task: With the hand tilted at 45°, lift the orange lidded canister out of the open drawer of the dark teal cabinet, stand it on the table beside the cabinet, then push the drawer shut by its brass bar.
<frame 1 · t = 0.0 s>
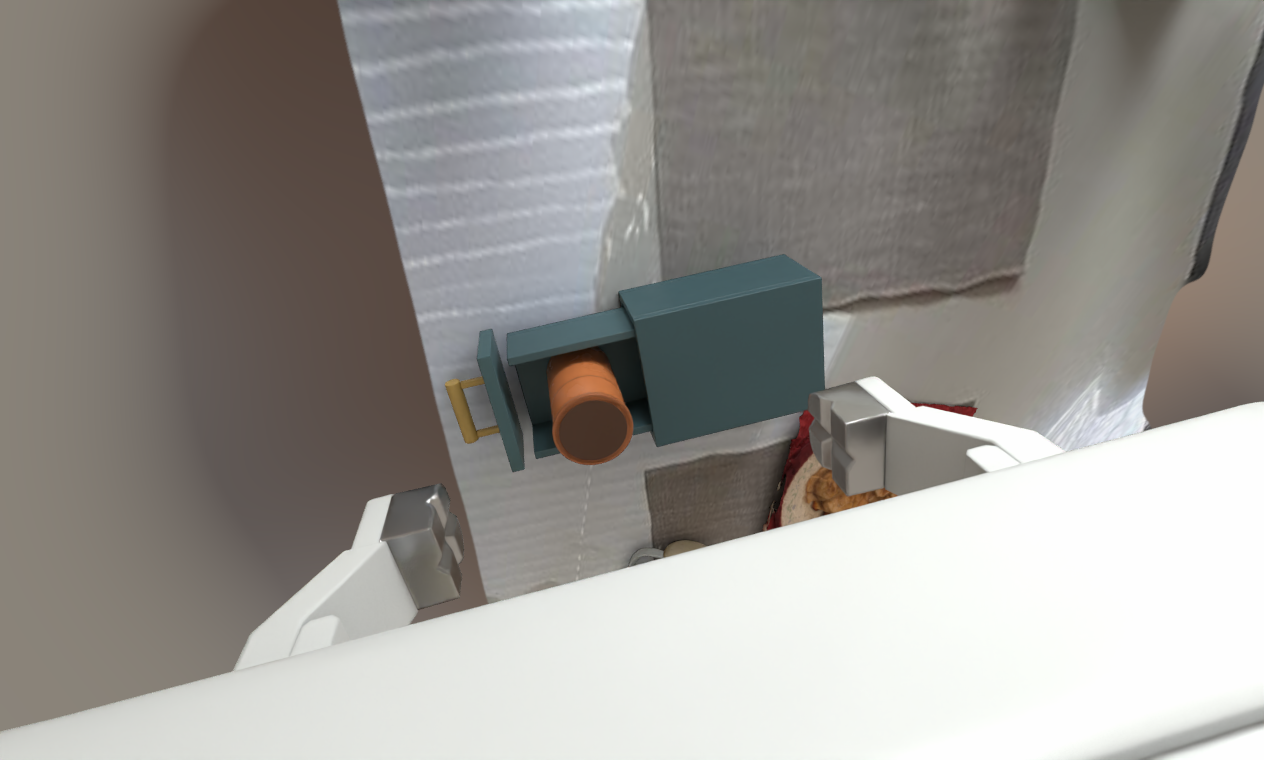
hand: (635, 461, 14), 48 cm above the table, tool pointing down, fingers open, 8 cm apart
cabinet: (709, 333, 66), on the table
plate with food: (858, 487, 79), on the table
ceramic mug: (667, 561, 79), on the table
drawer: (558, 386, 61), point 4 cm above the table, slide at 13.0 cm, touching orange lidded canister
orange lidded canister: (578, 372, 63), point 2 cm above the table, touching drawer
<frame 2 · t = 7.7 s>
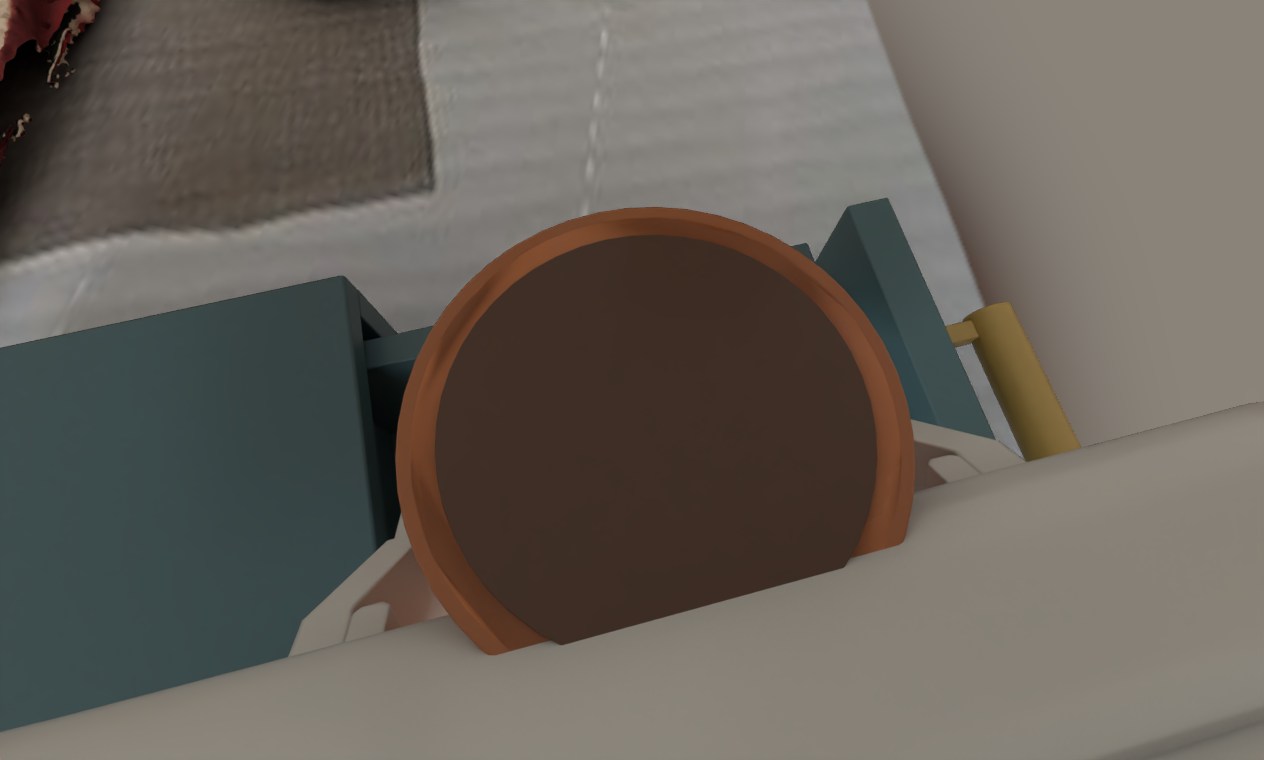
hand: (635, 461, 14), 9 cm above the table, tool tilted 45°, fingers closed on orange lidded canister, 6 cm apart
cabinet: (207, 637, 20), on the table
drawer: (715, 493, 18), point 4 cm above the table, slide at 13.0 cm, touching orange lidded canister
orange lidded canister: (638, 521, 20), point 2 cm above the table, touching drawer, gripper
when the fingers open (6 cm above the table, at t = 17.1 s): orange lidded canister stays where it is, on the table.
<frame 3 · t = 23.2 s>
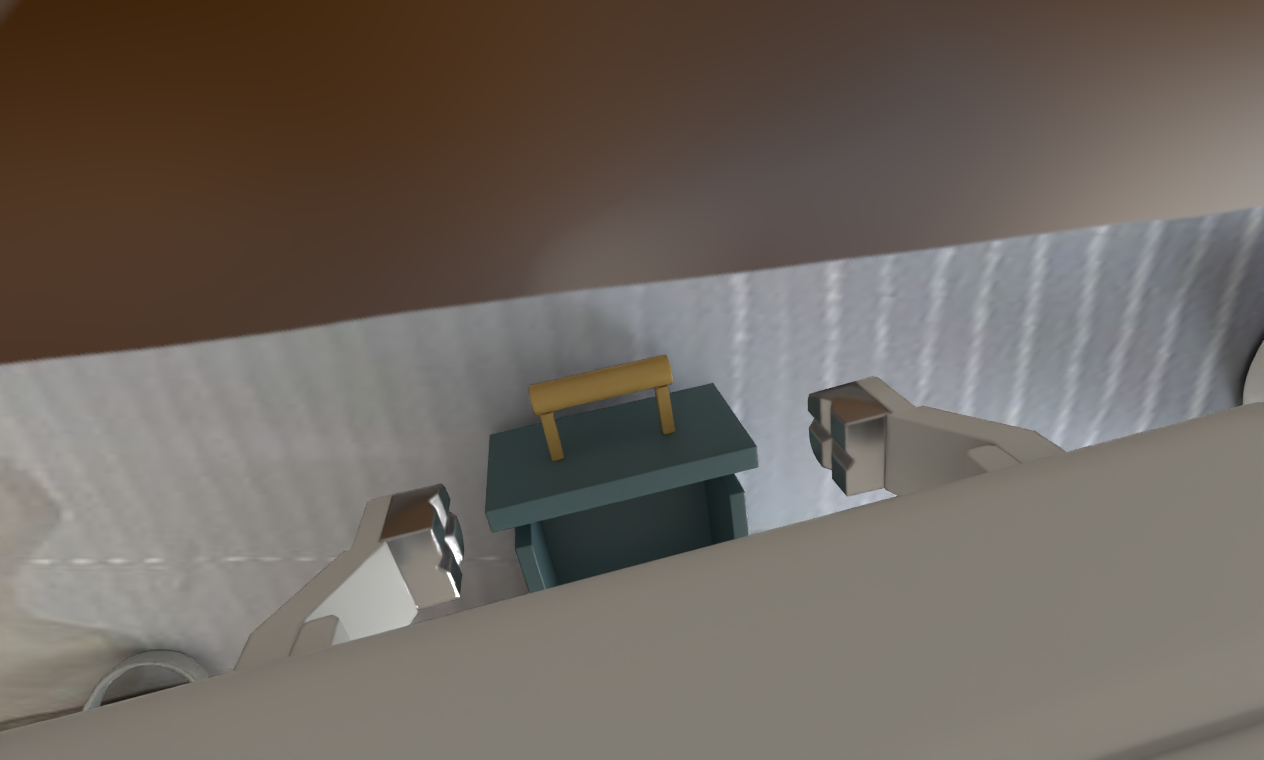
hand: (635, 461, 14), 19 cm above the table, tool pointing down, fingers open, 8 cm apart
ceramic mug: (167, 706, 38), on the table
drawer: (632, 537, 33), point 4 cm above the table, slide at 13.0 cm
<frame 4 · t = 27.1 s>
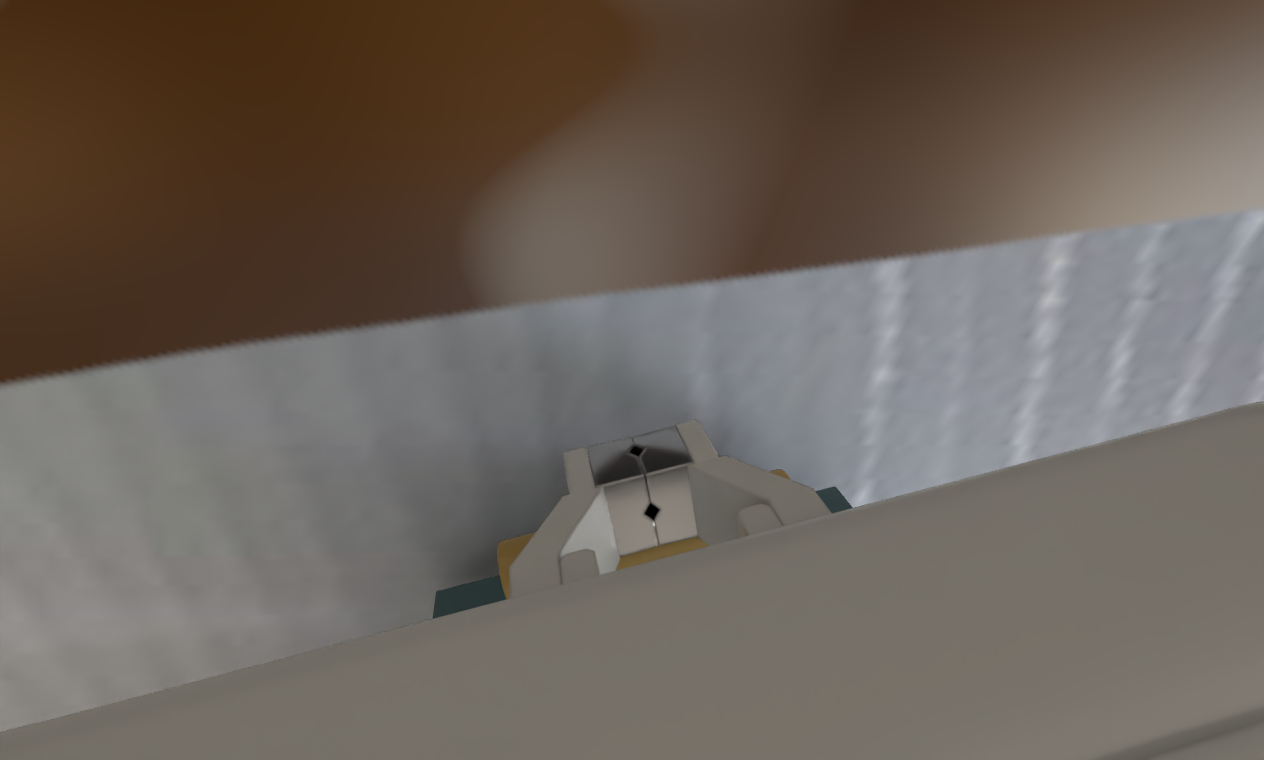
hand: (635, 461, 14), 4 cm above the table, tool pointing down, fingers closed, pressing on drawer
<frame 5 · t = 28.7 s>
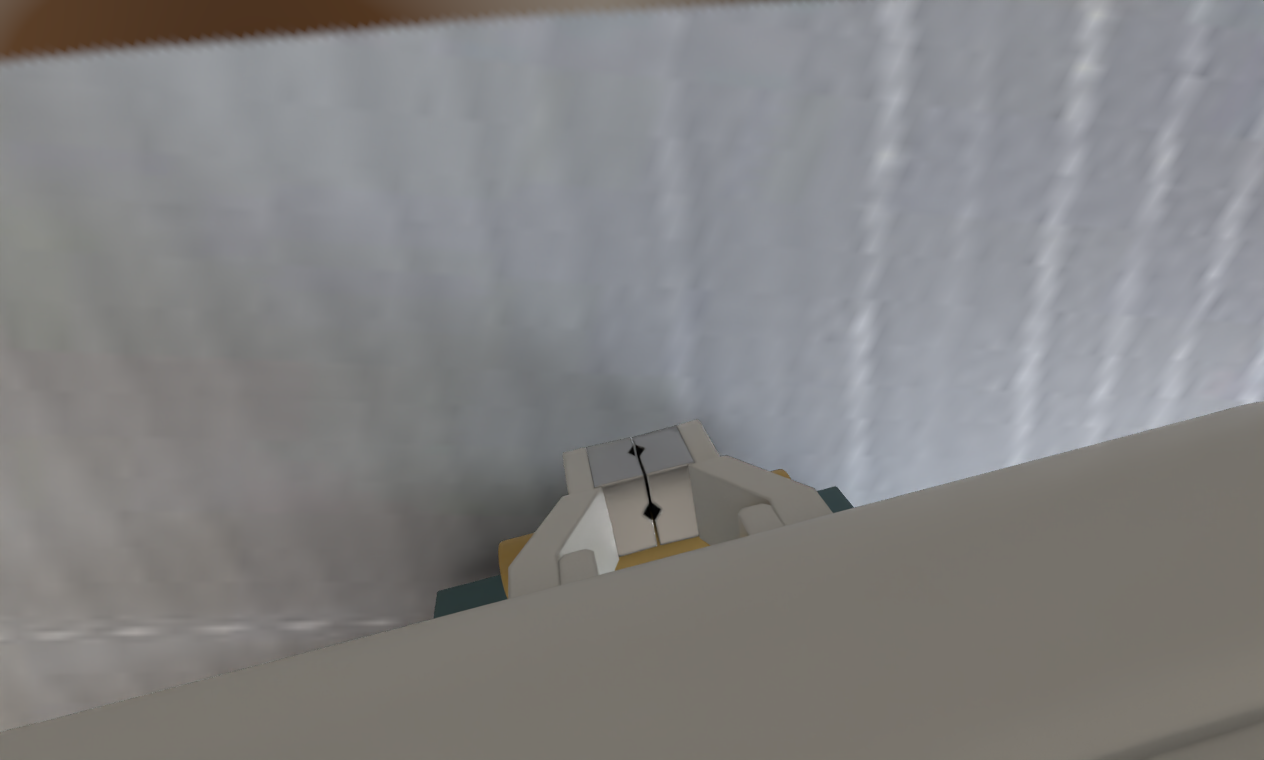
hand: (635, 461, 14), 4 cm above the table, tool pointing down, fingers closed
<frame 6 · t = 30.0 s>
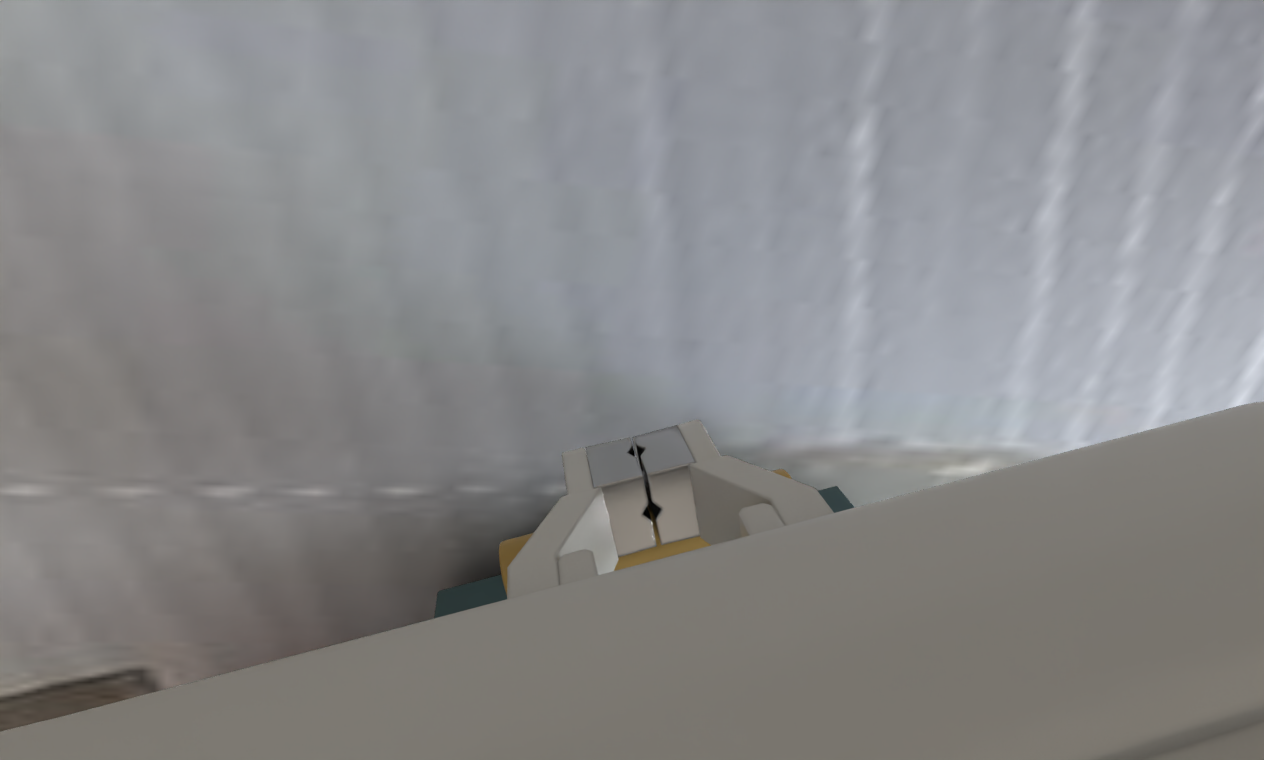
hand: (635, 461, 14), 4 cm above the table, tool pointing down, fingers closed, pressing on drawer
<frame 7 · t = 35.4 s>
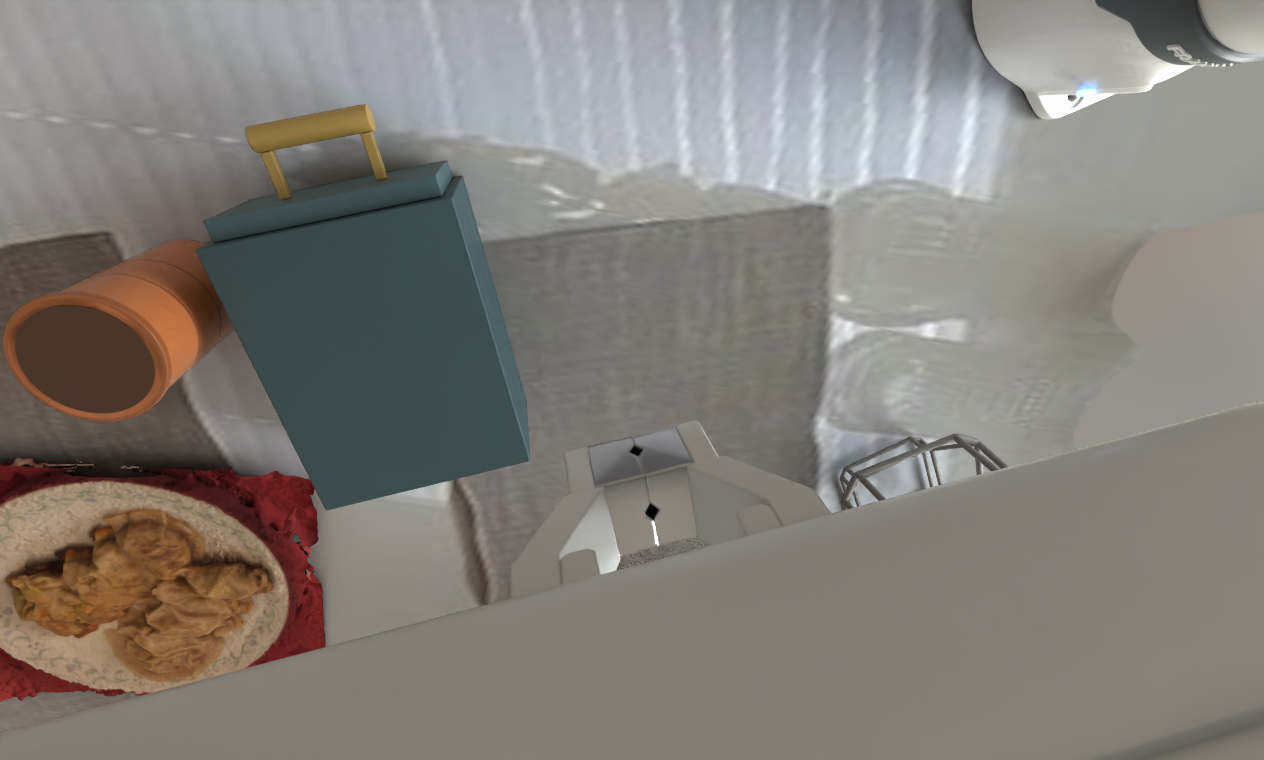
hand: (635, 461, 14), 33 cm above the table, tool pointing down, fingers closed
cabinet: (404, 319, 45), on the table
plate with food: (154, 581, 50), on the table
geometric lantern: (887, 479, 60), on the table
drawer: (374, 288, 39), point 4 cm above the table, slide at 0.0 cm, touching cabinet
orange lidded canister: (196, 289, 41), on the table
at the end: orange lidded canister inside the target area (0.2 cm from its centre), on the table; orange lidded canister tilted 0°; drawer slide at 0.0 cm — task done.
